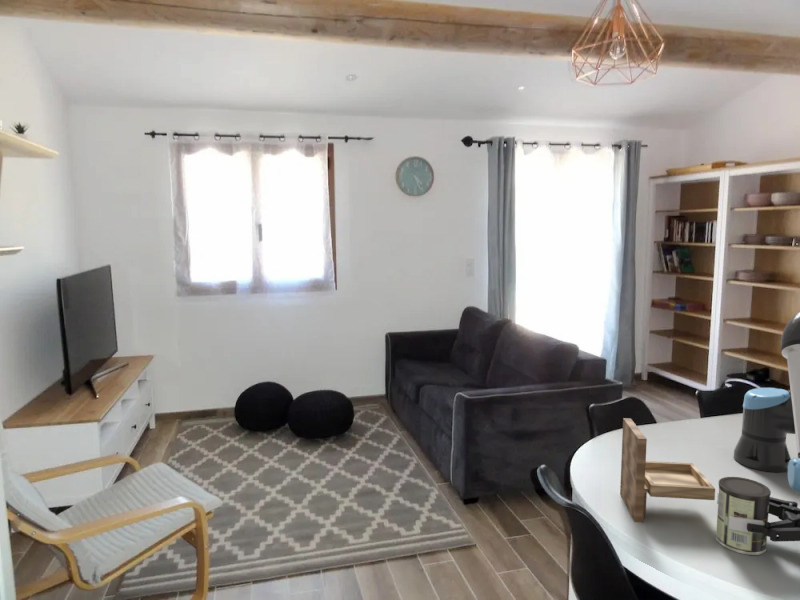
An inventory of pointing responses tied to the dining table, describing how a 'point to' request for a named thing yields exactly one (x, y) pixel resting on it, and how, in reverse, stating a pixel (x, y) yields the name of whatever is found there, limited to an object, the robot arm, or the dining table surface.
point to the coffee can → (742, 513)
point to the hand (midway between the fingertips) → (723, 510)
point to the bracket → (655, 475)
